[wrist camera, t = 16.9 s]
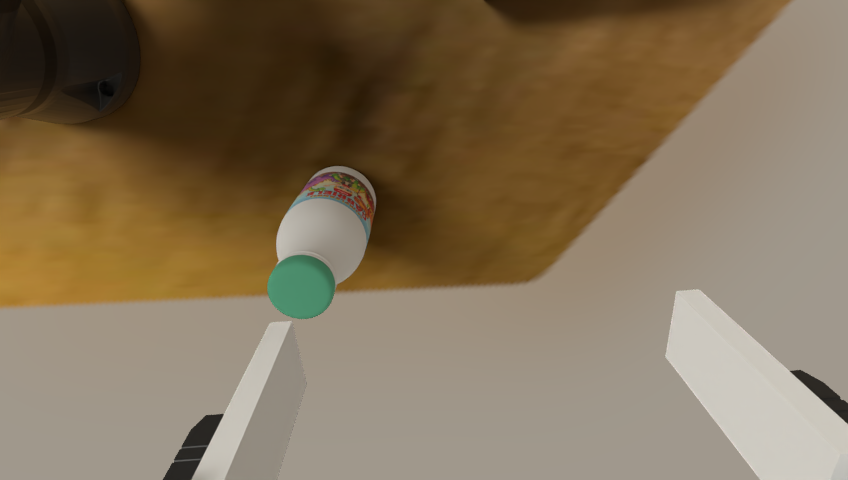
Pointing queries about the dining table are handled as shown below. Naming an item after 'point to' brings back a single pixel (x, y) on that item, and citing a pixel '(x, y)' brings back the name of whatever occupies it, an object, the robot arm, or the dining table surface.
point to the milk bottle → (321, 241)
